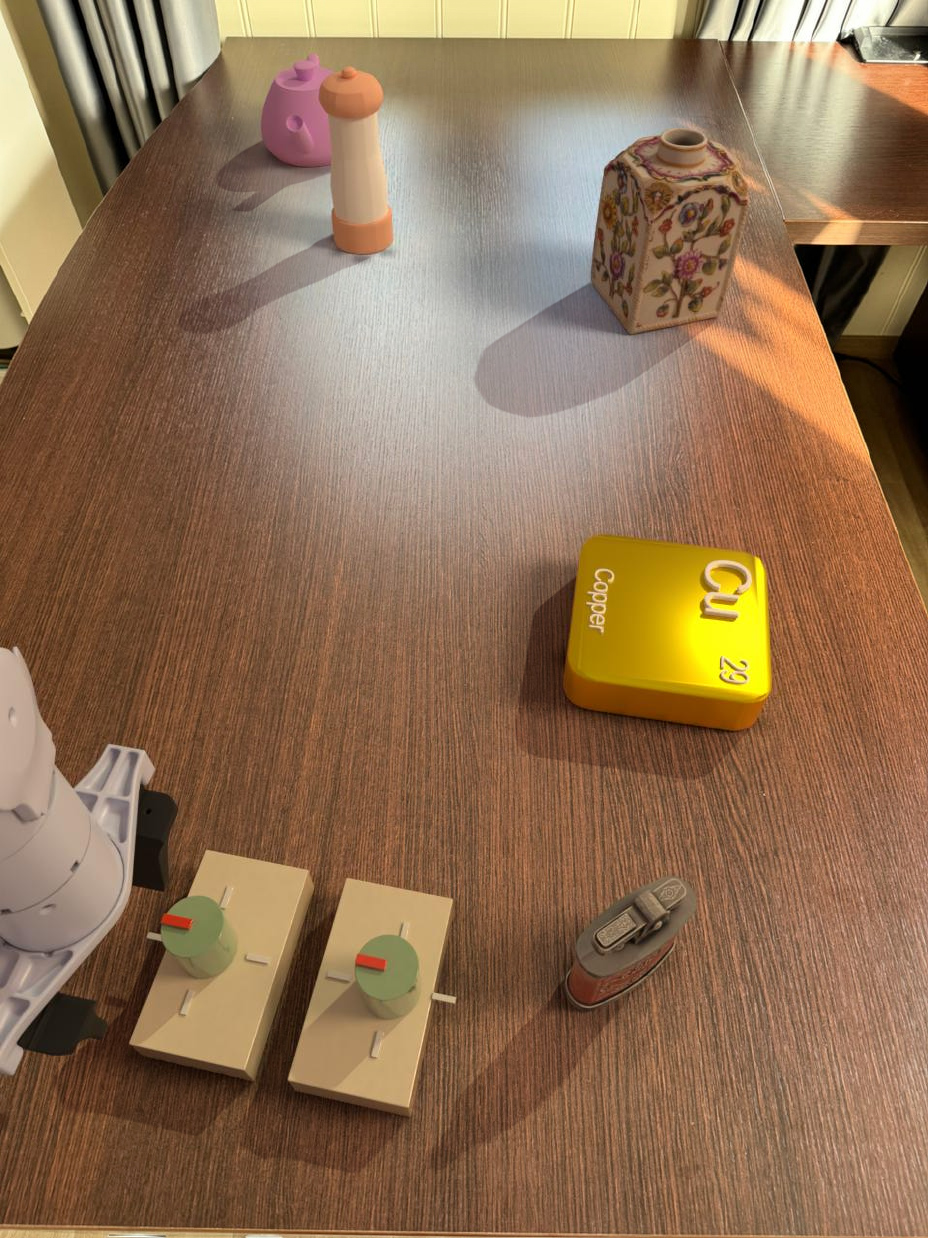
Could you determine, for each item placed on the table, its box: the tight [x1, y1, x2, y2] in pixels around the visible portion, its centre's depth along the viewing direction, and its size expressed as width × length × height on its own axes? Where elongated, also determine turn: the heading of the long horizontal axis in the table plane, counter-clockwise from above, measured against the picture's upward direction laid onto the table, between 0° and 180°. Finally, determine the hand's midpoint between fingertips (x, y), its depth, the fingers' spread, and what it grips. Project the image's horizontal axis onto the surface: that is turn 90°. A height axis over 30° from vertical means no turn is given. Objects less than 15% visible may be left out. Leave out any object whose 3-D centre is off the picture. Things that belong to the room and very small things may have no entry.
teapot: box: [260, 53, 335, 168], centre depth 120 cm, size 14×20×11 cm
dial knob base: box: [287, 877, 457, 1118], centre depth 54 cm, size 12×8×3 cm
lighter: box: [563, 875, 698, 1013], centre depth 53 cm, size 8×3×10 cm, turn 123°
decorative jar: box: [589, 127, 751, 335], centre depth 95 cm, size 12×12×18 cm
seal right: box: [355, 935, 422, 1019], centre depth 51 cm, size 4×4×4 cm
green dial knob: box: [160, 896, 238, 978], centre depth 53 cm, size 4×4×4 cm
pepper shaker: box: [319, 66, 394, 255], centre depth 103 cm, size 7×7×19 cm
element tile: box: [562, 533, 773, 732], centre depth 71 cm, size 15×15×5 cm
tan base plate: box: [128, 849, 315, 1082], centre depth 56 cm, size 12×8×3 cm
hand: (119, 952), depth 47 cm, fingers open, 7 cm apart
